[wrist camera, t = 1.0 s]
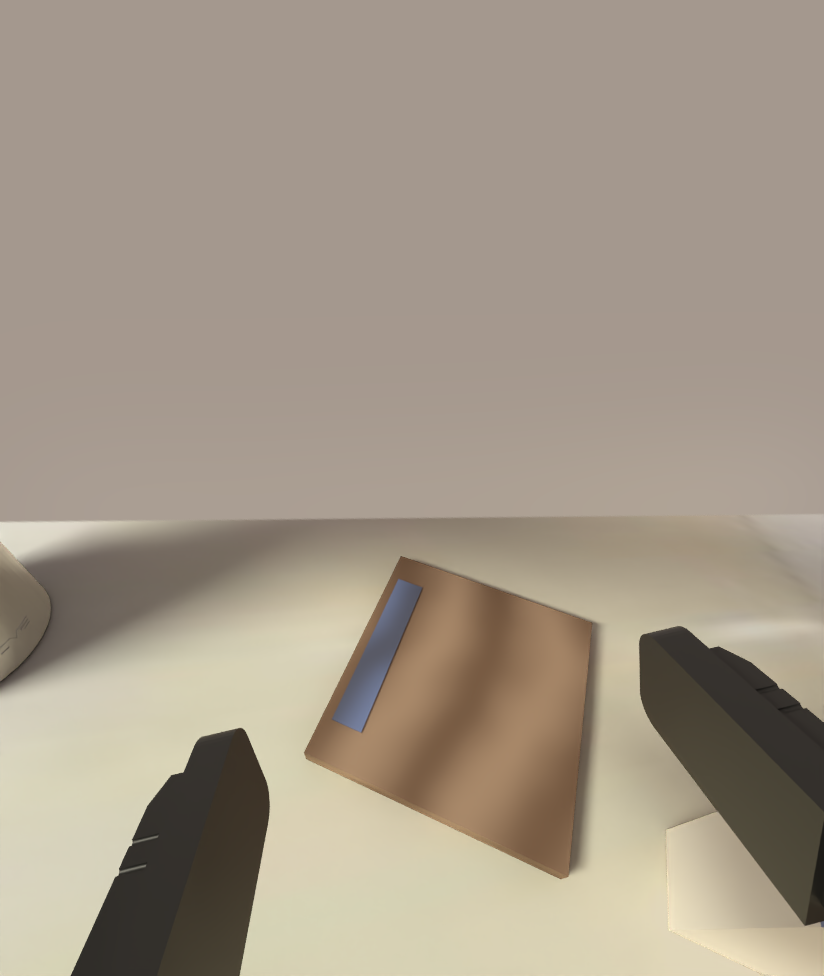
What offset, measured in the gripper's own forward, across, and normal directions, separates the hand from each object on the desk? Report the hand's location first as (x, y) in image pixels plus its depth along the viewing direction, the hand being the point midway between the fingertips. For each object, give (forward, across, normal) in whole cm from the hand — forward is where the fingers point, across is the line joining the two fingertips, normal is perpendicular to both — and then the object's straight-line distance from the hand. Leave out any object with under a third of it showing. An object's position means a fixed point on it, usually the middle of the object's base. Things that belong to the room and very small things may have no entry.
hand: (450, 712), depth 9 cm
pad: (+15, -2, +14) cm, 21 cm away
